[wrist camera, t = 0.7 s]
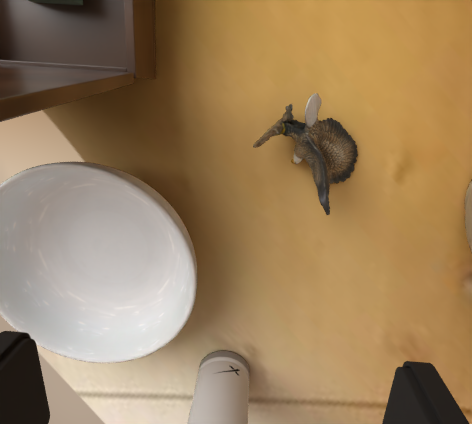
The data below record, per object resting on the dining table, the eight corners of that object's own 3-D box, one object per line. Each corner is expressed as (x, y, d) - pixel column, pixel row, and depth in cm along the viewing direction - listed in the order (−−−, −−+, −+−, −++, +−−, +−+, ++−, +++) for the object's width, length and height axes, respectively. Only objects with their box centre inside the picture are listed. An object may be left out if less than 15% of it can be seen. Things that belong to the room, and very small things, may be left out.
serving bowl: (13, 294, 42) (-32, 333, 35) (26, 122, 34) (-28, 131, 28) (182, 342, 43) (168, 388, 36) (230, 184, 35) (223, 207, 29)
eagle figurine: (242, 161, 33) (314, 224, 33) (260, 129, 26) (350, 208, 26) (290, 109, 35) (358, 168, 35) (319, 67, 28) (403, 140, 28)
